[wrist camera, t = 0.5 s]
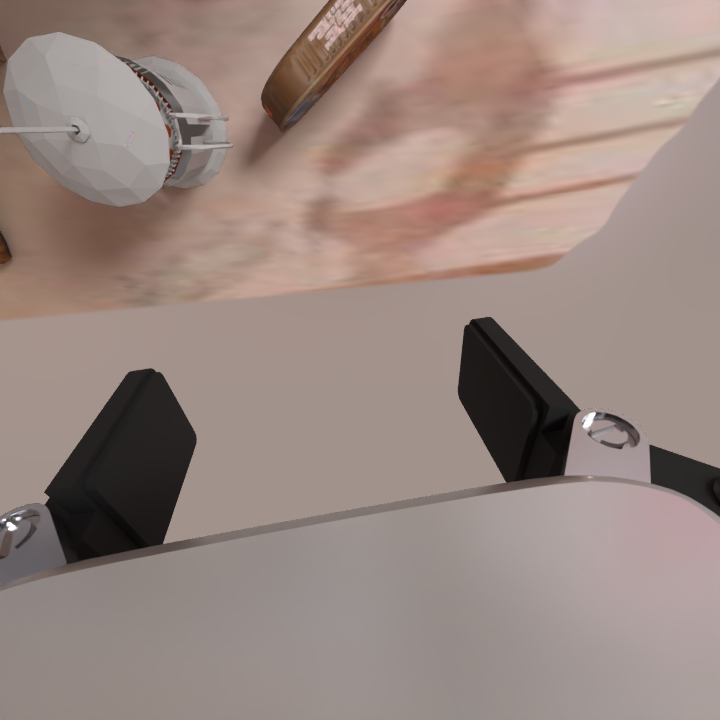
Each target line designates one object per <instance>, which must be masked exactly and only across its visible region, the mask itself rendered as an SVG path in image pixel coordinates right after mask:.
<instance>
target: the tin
mask: <svg viewBox="0 0 720 720" xmlns="http://www.w3.org/2000/svg"><path fill="white" fill-rule="evenodd" d="M406 1H407V0H329V1H328V3H327V4H326V5H325V6H324V7H323V9H322V10H321V11H320V12H319V13H318V15H317V16H316V17H315V18H314V19H313V21H312V22H311V23H310V24H309V26H308V27H307V28H306V29H305V30H304V31H303V33H302V34H301V35H300V37H299V38H298V39H297V40H296V41H295V43H294V44H293V45H292V46H291V48H290V49H289V50H288V51H287V53H286V54H285V55H284V57H283V58H282V59H281V61H280V62H279V63H278V65H277V66H276V68H275V69H274V71H273V72H272V74H271V75H270V77H269V79H268V81H267V82H266V84H265V87H264V89H263V92H262V95H261V100H262V105H263V108H264V109H265V110H266V112H267V113H268V114H269V116H270V117H271V118H272V119H273V120H274V122H275V123H276V124H277V125H278V127H279V130H280V131H281V132H284V131H286V130H287V129H288V128H290V127H291V126H292V125H294V124H295V123H296V122H297V121H298V120H300V119H301V118H302V117H303V116H304V115H305V114H306V113H307V112H308V111H309V109H310V108H311V107H312V106H313V105H314V104H315V103H316V102H317V101H318V100H319V99H320V98H321V97H322V96H323V94H324V93H325V92H326V91H327V90H328V89H329V88H330V87H331V86H332V85H333V83H334V82H335V81H336V80H337V79H338V78H339V77H340V76H341V75H342V74H343V73H344V71H345V70H346V69H347V68H348V67H349V66H350V65H351V64H352V63H353V62H354V60H355V59H356V58H357V57H358V56H359V55H360V54H361V53H362V52H363V51H364V50H365V49H366V47H367V46H368V45H369V44H370V43H371V42H372V41H373V40H374V39H375V38H376V36H377V35H378V34H379V33H380V32H381V31H382V30H383V28H384V27H385V26H386V25H387V24H388V23H389V21H390V20H391V19H392V18H393V17H394V16H395V14H396V13H397V12H398V11H399V10H400V8H401V7H402V6H403V5H404V3H405V2H406Z"/></svg>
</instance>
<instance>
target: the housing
mask: <svg viewBox="0 0 720 720" xmlns="http://www.w3.org/2000/svg"><path fill="white" fill-rule="evenodd" d="M0 61H6V59H5V56H4V54H3V52H2V49H1V47H0Z"/></svg>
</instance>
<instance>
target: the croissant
mask: <svg viewBox="0 0 720 720" xmlns="http://www.w3.org/2000/svg"><path fill="white" fill-rule="evenodd" d="M11 257H12V256H11V254H10V251H9V248H8V246H7V243H6V241H5V239H4V237H3V236H2V234H1V232H0V264H4V263H5V262H6V261H8V260H9V259H10V258H11Z"/></svg>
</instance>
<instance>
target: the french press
mask: <svg viewBox="0 0 720 720" xmlns="http://www.w3.org/2000/svg"><path fill="white" fill-rule="evenodd" d="M119 59H122V60H119ZM124 61H126V62H128V63H126V64H125V63H123V62H124ZM3 93H4V97H5V100H6V104H7V107H8V111H9V115H10V118H11V122H12V126H13V127H0V134H18V136H19V137H20V139H21V141H22V142H23V144H24V145H25V147H26V148H27V150H28V152H29V153H30V155H31V156H32V158H33V159H34V160H35V161H36V162H37V163H38V164H39V165H40V166H41V167H42V168H43V169H44V170H45V171H46V172H47V173H48V174H50V175H51V176H52V177H53V178H54V179H55V180H56V181H57V182H58V183H59V184H60V185H62V186H63V187H65V188H67V189H69V190H71V191H73V192H74V193H76V194H78V195H80V196H82V197H84V198H85V199H87V200H89V201H92V202H97V203H102V204H107V205H111V206H116V207H122V206H127V205H132V204H138V203H143V202H145V201H146V200H147V199H148V198H150V197H151V196H152V195H153V194H154V193H156V192H157V191H158V190H159V189H161V188H166V187H169V186H174V187H179V188H184V189H186V188H191V187H195V186H200V185H204V184H205V183H207V182H208V181H209V180H210V179H211V178H213V177H214V176H215V175H216V174H217V173H219V170H220V168H221V166H222V163H223V161H224V159H225V156H226V154H227V148H231V147H233V144H232V143H229V142H227V130H226V126H225V123H224V120H226V121H227V120H229V118H228V116H222V114H221V111H220V108H219V105H218V103H217V102H216V101H215V99H214V98H213V96H212V95H211V94H210V92H209V91H208V89H207V88H206V87H205V85H204V84H203V82H202V81H201V80H200V79H199V78H197V77H196V76H195V75H193V74H192V73H191V72H189V71H188V70H187V69H185V68H184V67H183V66H181V65H180V64H179V63H176V62H173V61H169V60H166V59H162V58H159V57H155V56H149V57H144V58H139V59H134V60H129V59H125V58H121V57H117V56H114V55H112V54H111V53H109V52H108V51H107V50H105V49H104V48H102V47H101V46H100V45H98V44H97V43H96V42H92V41H89V40H85V39H82V38H79V37H75V36H72V35H68V34H65V33H61V32H55V33H50V34H45V35H40V36H35V37H30V38H27V39H26V40H25V41H24V42H23V44H22V45H21V46H20V47H19V48H18V49H17V50H16V51H15V53H14V54H13V55H12V56H11V57H10V58H9V59H8V63H7V69H6V76H5V83H4V90H3ZM162 185H163V186H164V187H163V186H162Z"/></svg>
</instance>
